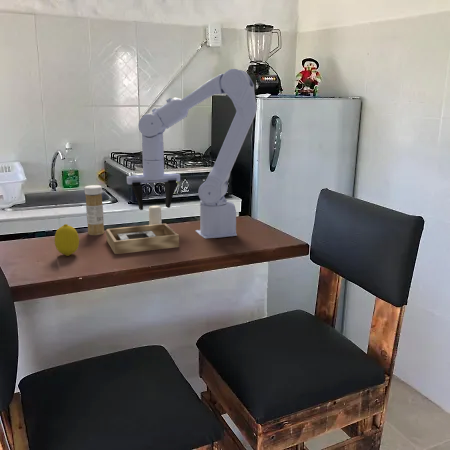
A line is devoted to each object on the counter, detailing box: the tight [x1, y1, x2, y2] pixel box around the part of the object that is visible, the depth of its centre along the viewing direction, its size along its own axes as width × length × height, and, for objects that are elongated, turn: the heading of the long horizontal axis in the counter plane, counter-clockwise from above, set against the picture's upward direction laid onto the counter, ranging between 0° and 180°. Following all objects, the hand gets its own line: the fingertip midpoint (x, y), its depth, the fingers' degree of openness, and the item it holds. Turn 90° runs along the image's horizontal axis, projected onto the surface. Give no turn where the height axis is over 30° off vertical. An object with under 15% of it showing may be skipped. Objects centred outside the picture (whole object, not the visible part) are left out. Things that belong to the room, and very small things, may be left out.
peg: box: [148, 205, 163, 225], centre depth 141 cm, size 3×3×7 cm
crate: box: [105, 223, 180, 255], centre depth 129 cm, size 16×12×4 cm
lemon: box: [54, 223, 80, 257], centre depth 119 cm, size 6×6×8 cm
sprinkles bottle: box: [84, 184, 106, 236], centre depth 137 cm, size 5×5×14 cm
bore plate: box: [117, 230, 157, 241], centre depth 129 cm, size 9×9×2 cm
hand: (154, 208), depth 140 cm, fingers open, 7 cm apart
